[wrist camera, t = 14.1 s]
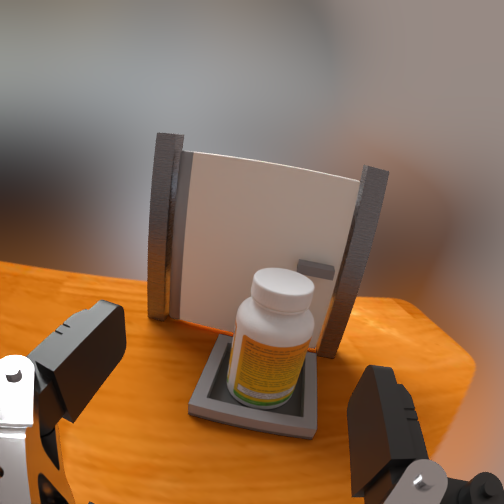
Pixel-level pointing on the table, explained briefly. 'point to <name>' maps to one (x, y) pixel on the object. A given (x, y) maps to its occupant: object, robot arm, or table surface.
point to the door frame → (350, 265)
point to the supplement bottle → (271, 338)
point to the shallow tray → (239, 415)
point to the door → (253, 233)
